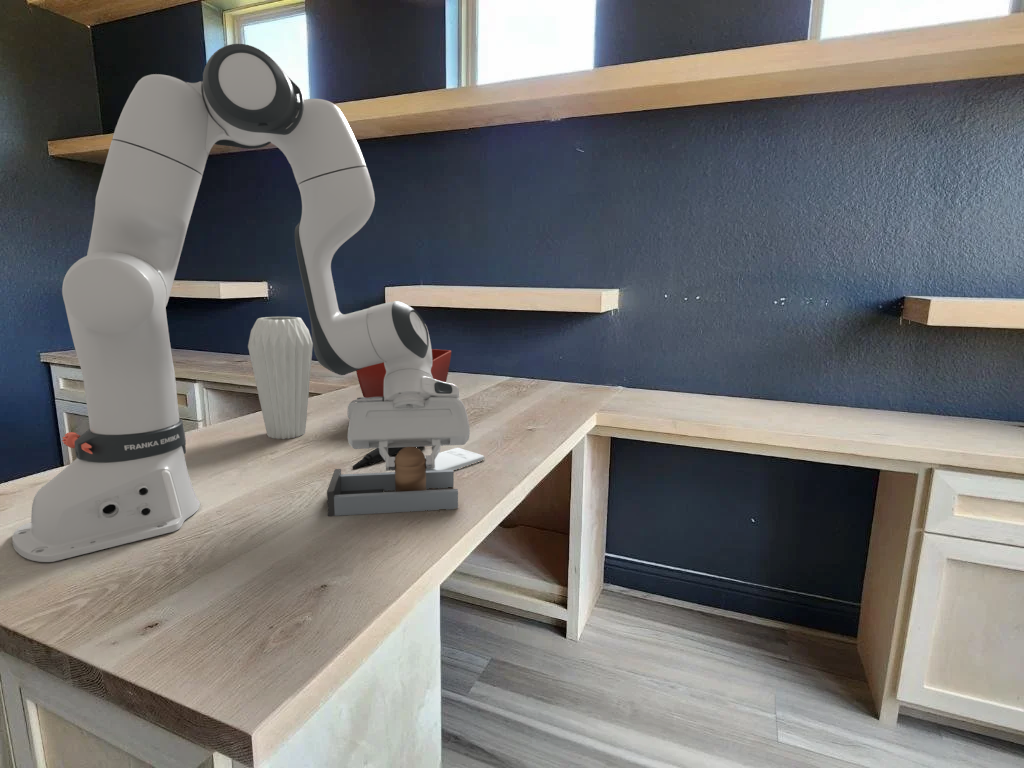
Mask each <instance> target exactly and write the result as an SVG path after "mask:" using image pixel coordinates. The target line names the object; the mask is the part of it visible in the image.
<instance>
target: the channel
mask: <svg viewBox="0 0 1024 768" xmlns="http://www.w3.org/2000/svg"><path fill="white" fill-rule="evenodd" d="M454 472H455V471H453V470H431V471H426V490H424V491H404V492H396V491H388V490H395V471H391V472H389V471H386V472H369V473H362V472H361V473H347V474H346V473H344V474H342V469H341V468H334V470H333V473H332V477H331V479H330V482H329V484H328V488H327V490H326V499H327V500H326V502H327V503H326V504H327V516H328V517H335V516H336V517H337V516H354V515H373V514H388V513H392V514H393V513H409V512H410V511H411V512H423V511H425V510H426V512H427V510H428V511H440V510H439V509H446V510H455V509H454V508H458V509H459V490H458V488H455V487H454V483H455V481H454ZM448 487H454V488H448ZM429 488H438V489H429ZM383 491H384V492H383Z"/></svg>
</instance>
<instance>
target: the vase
mask: <svg viewBox="0 0 1024 768" xmlns="http://www.w3.org/2000/svg"><path fill="white" fill-rule="evenodd" d="M247 349H248V353H249V358H250V362H251V367H252V372H253V377H254V381H255V385H256V389H257V393H258V394H257V395H258V400H259V403H260V409H261V414H262V418H263V422H264V426H265V431H266V435H267V437H268V438H271V439H276V440H279V439H282V440H285V439H289V440H290V439H291V438H293V439H295V438H296V437H297V438H298V437H300V436H304V434H306V431H307V430H306V429H307V420H308V419H307V417H308V405H309V394H310V384H311V383H310V382H311V381H310V380H311V373H312V372H311V371H312V370H311V369H312V357H313V340H312V335H311V333H310V330H309V328H308V327H307V326H306V324H305V322H304V320H303V319H302V317H298V316H297V317H296V316H265V317H259V318H258V317H257V319H256V321H255V322H254V324H253V326H252V328H251V330H250V334H249V339H248V344H247Z"/></svg>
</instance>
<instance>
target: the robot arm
mask: <svg viewBox="0 0 1024 768" xmlns="http://www.w3.org/2000/svg"><path fill="white" fill-rule="evenodd" d="M271 144H272V145H274V146H275V147H277V148H278V149H279V150H280V152H282V153H283V155H284V157H286V159H287V161H288V163H289V164H290V167H291V169H292V173H293V176H294V179H295V182H296V184H297V187H298V189H299V192H300V199H301V216H300V221H299V222H298V224H297V225H296V226H295V229H294V244H295V251H296V257H297V261H298V266H299V273H300V276H301V281H302V286H303V287H302V288H303V291H304V296H305V300H306V305H307V308H308V309H307V310H308V316H309V319H310V325H311V340H312V343H313V347H312V349H313V352H314V355H315V358H316V360H317V361H318V363H319V364H320V366H322V367H324V368H325V369H327V370H328V371H330V372H332V373H334V374H336V375H340V376H345V375H348V374H350V373H354V372H356V371H357V370H360V369H362V368H364V367H368V366H371V365H375V364H379V363H383V362H384V366H385V369H386V375H385V377H384V396H383V397H370V398H365V397H363V396H360V397H357V398H356V399H354V400H352V401H351V402H349V403H348V405H347V413H346V414H347V417H348V420H349V423H348V427H347V428H348V429H347V442H348V444H349V445H350V446H351V448H352V449H353V450H361V449H376V448H379V452H380V455H381V456H382V457H383V460H384V462H385V471H386V472H389V471H391V472H392V471H395V458H396V456H389V455H388V448H393V447H410V446H411V447H419V446H422V447H431V453H430V455H429V454H428V455H425V459H426V469H434V468H435V458H436V457H437V455H438V453H440V452H441V447H443V446H464V445H466V443H467V442H468V441H469V439H470V434H471V433H470V431H471V430H470V422H469V416H468V413H467V409H466V406H465V404H464V402H463V401H462V400H461V399H460V388H459V386H458V385H457V384H455V383H454V384H453V383H449V382H447V381H446V382H442V381H439V380H435V379H433V376H432V374H431V368H432V349H433V348H432V343H431V339H430V338H431V337H430V334H429V333H430V332H429V330H428V326H427V325H426V322H425V321H424V319H423V317H422V316H421V314H420V313H419V312H418V311H417V309H414V308H413V307H411V306H410V305H408V304H406V303H405V302H403V301H401V300H393V301H389V302H385V303H381V304H377V305H373V306H370V307H368V308H364V309H362V310H356V311H354V312H349V313H345V314H344V313H342V312H341V311H340V309H339V304H338V300H337V293H336V290H335V285H334V279H333V275H332V273H333V272H332V260H333V258H334V255H335V254H336V252H337V251H338V249H340V247H341V246H342V245H343V244H344V243H345V242H347V241H348V240H349V239H350V238H352V237H353V236H354V235H355V234H357V233H358V232H359V231H360V230H361V229H362V228H363V227H364V226H365V225H366V223H367V222H368V221H369V219H370V217H371V215H372V213H373V211H374V207H375V202H376V197H375V191H374V190H375V189H374V186H373V182H372V179H371V176H370V173H369V170H368V167H367V164H366V162H365V157H364V156H363V152H362V150H361V148H360V145H359V143H358V141H357V139H356V136H355V134H354V132H353V130H352V127H350V124H349V122H348V120H347V118H346V117H345V115H344V113H343V112H342V111H341V109H340V107H338V105H336V104H334V103H333V102H331V101H329V100H327V99H322V98H308V99H304V93H303V91H302V90H301V88H300V87H299V86H298V85H297V84H296V83H295V82H294V81H293V80H292V79H291V78H290V77H289V76H288V75H287V73H285V72H284V70H283V69H282V68H281V67H280V66H279V64H278V63H277V62H276V61H275V60H274V59H273V58H272V57H270V56H269V55H268V54H267V53H265V52H264V51H263V50H261V49H260V48H257V47H255V46H253V45H249V44H244V43H232V44H227V45H225V46H223V47H220V48H219V49H217V50H216V51H215V52H214V53H213V54H212V55H210V57H209V59H208V60H207V62H206V64H205V66H204V69H203V73H202V80H201V81H198V82H188V81H184V80H182V79H180V78H178V77H175V76H171V75H166V74H161V73H160V74H159V73H158V74H157V73H155V74H154V73H153V74H152V73H151V74H148V75H144V76H142V77H141V78H140V79H139V80H138V81H137V83H135V85H134V87H133V89H132V91H131V92H130V94H129V96H128V98H127V100H126V102H125V104H124V106H123V108H122V111H121V113H120V116H119V118H118V119H117V124H116V125H115V128H114V132H113V136H112V139H111V142H110V146H109V147H108V148H109V149H108V153H107V156H106V159H105V164H104V166H103V170H102V173H101V177H100V180H99V185H98V189H97V192H96V196H95V205H94V213H93V220H92V227H91V234H90V238H89V244H88V249H87V253H86V254H87V255H86V256H85V255H84V256H83V257H82V258H79V259H78V260H77V261H76V262H74V263H73V264H72V265H71V266H70V267H69V269H68V270H67V271H66V274H65V276H64V278H63V281H62V290H61V294H62V298H63V299H62V300H63V302H64V306H65V312H66V316H67V320H68V325H69V329H70V334H71V338H72V342H73V345H74V349H75V352H76V353H75V354H76V357H77V360H78V364H79V367H80V372H81V376H82V381H83V387H84V388H83V389H84V394H85V402H86V409H87V415H88V423H89V429H87V430H86V431H85V432H84V433H82V434H81V435H80V434H78V433H76V432H73V431H70V432H67V433H65V434H64V436H63V437H62V439H61V441H62V443H63V444H64V445H65V446H67V447H68V448H71V449H74V450H75V451H74V452H75V456H76V458H75V460H73V461H72V462H71V463H69V465H67V466H66V467H65V468H63V469H62V470H61V471H60V472H59V473H58V474H57V475H55V476H54V477H53V478H52V479H50V480H49V481H48V482H47V483H46V484H44V485H43V486H41V488H39V490H38V491H36V494H35V495H34V497H33V500H32V505H31V514H30V522H27V523H24V524H22V525H19V527H18V528H16V529H15V531H14V532H13V533H12V547H13V549H14V551H15V552H16V553H17V554H18V555H19V556H21V557H23V558H25V559H26V560H29V561H33V562H40V563H53V562H58V561H61V560H62V561H63V560H65V559H70V558H74V557H77V556H81V555H86V554H89V553H90V554H91V553H93V552H94V553H95V552H97V551H98V552H99V551H100V550H102V551H103V550H104V549H108V548H114V547H118V546H121V545H125V544H129V543H133V542H138V541H141V540H144V539H149V538H150V539H151V538H153V537H157V536H161V535H165V534H169V533H173V532H176V531H178V530H179V529H181V528H182V525H183V524H184V522H185V521H186V520H187V519H189V518H190V517H191V516H193V515H194V514H195V513H196V512H197V511H198V510H199V509H200V507H201V502H200V500H199V498H198V496H197V494H196V491H195V489H194V487H193V483H192V481H191V477H190V474H189V470H188V466H187V462H186V457H185V456H186V455H185V454H186V452H187V450H186V444H187V443H186V441H187V440H186V433H185V428H184V421H183V420H182V419H181V418H180V414H179V403H178V402H179V401H178V392H177V384H176V374H175V365H174V361H173V355H172V347H171V342H170V332H169V325H168V318H167V316H168V315H167V309H166V307H167V306H168V302H169V299H170V296H171V292H172V288H173V284H174V281H175V277H176V274H177V269H178V266H179V262H180V257H181V254H182V252H183V247H184V244H185V240H186V239H185V238H186V235H187V231H188V228H189V224H190V221H191V216H192V214H193V210H194V206H195V203H196V200H197V196H198V192H199V189H200V185H201V183H202V179H203V175H204V171H205V168H206V164H207V160H208V157H209V155H210V152H211V150H212V148H213V146H214V145H216V146H217V145H218V146H226V147H233V148H238V149H239V148H241V149H248V150H249V149H250V150H251V149H260V148H265V147H267V146H269V145H271Z"/></svg>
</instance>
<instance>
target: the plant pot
mask: <svg viewBox="0 0 1024 768" xmlns="http://www.w3.org/2000/svg"><path fill="white" fill-rule="evenodd" d="M431 349H432V368H431V374H432V376H433V379H435V380H439V381H442V382H446V383H447V380H448V375H449V370H450V364H451V358H452V350H450V349H449V350H448V349H437V348H435V349H433V348H431ZM355 372H356V376H357V380H358V385H359V388H360V391H361V394H362V397H365V398H370V397H383V396H384V377H385V375H386V369H385V366H384V362H383V363H379V364H375V365H371V366H368V367H364V368H362V369H360V370H357V371H355Z"/></svg>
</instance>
